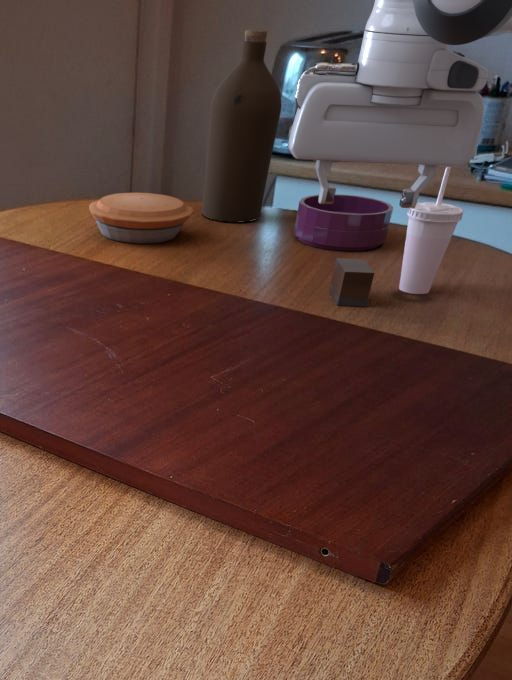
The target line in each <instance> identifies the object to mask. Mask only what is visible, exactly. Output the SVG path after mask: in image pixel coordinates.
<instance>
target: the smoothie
mask: <svg viewBox="0 0 512 680" xmlns="http://www.w3.org/2000/svg"><path fill="white" fill-rule="evenodd" d="M451 170H452V166H445V170H444V173H443V177H442V179H441V180H442V181H441V185H440V188H439V191H438V194H437V199H436V202H433V201H432V202H430V201H424V202H422V201H421V202H417V204H416V206H415V208H408V209H407V212H406V216H408V222H407V228H406V236H405V243H404V250H403V258H402V264H401V271H400V278H399V286H398V289H399V290H400V291H401V292H403V293H407V294H413V295H426V294H429V293H430V291H431V288H432V286H433V283H434V281H435V278H436V276H437V273H438V272H439V269H440V267H441V264H442V261H443V259H444V257H445V254H446V252H447V250H448V247H449V245H450V242H451V240H452V237H453V235H454V233H455V230H456V229H457V225H458V223H459V222H460V221H462V220H463V215H464V209H462V208H461V207H459V206H457V205H454V204H448V203H443V198H444V195H445V190H446V187H447V184H448V180H449V176H450V172H451Z"/></svg>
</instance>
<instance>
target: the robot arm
mask: <svg viewBox="0 0 512 680" xmlns="http://www.w3.org/2000/svg"><path fill="white" fill-rule="evenodd" d="M511 33H512V0H374V4H373V8H372V10H371V13H370V15H369V17H368V19H367V21H366V24H365V28H364V31H363V36H362V41H361V46H360V51H359V55H358V59H357V62H356V63H355V62H341V63H340V62H339V63H329V62H326V61H321V62H316V63H315V65H313V66H310V67H309V68H307V69H306V70H305V71H303V72H302V73H301V75H300V77H299V79H298V83H297V88H296V93H295V103H296V106H297V109H296V113H295V116H294V119H293V122H292V126H291V128H290V129H291V130H290V134H289V138H288V144H287V146H288V147H287V148H288V150H289V152H290V154H291V155H292V157H293V158H295V159H296V160H303V161H307V160H308V161H316V162H315V167H314V168H315V172H316V175H317V178H318V181H319V185H320V189H319V194H318V195H319V199H318V202H319V203H320V204H333V202H334V195H335V194H337V187H336V186H335V185H333V184H330V183H329V181H328V177H327V174H326V172H331V170H332V165H333V162H346V163H370V164H389V165H411V166H418V168H417V169H418V170H417V173H419V174H420V175H419V176H418V178H417V179H416V181H414V183H413V184H412V185H411V186H410V188H402V192H401V198H400V199H399V207H400V208H402V209H409V208H415V206H416V204H417V203H418V200H419V197H420V193H422V192H423V191H424V189H425V188H426V187H427V186H428V185H429V184H430V182H431V181H433V179H434V178H435V176H436V172H437V168H438V167H451V168H452V167H453V168H463V167H465V166H466V165H467V164H468V163H469V162H470V161H471V160H472V159H473V158H474V157H475V154H476V151H477V149H478V144H479V139H480V136H481V132H482V126H483V122H484V115H485V101H484V99H483V96H482V95H481V94H480V93H479V91H481V90H483V89H484V88H485V86H486V84H487V82H488V80H489V79H488V78H489V74H490V73H489V69H488V68H487V67H486V66H484V65H483V64H480V63H478V62H476V61H474V60H472V59H470V58H467V57H466V56H465V54H463V53H462V52H458V51H452V50H450V46H461V45H466V44H471V43H473V42H475V41H479V40H481V39H484V38H488V37H489V38H490V37H496V36H497V37H498V36H500V35H501V36H502V35H505V34H511ZM313 71H314V72H313ZM312 72H313V73H312Z"/></svg>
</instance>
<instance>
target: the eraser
mask: <svg viewBox="0 0 512 680" xmlns="http://www.w3.org/2000/svg"><path fill="white" fill-rule="evenodd" d="M374 277H375V272H374V270H373V268H372V267H371V266H370V264H368V262H367V261H366V259H364V258H347V257H346V258H345V257H344V258H342V257H341V258H340V257H336V258H335V261H334V267H333V271H332V276H331V280H330V284H329V290H328V291H329V293H330V295H331V297H332V298H333V301H334V302H335V304H336V306H337V307H338V306H339V307H357V308H358V307H360V308H366V307H367V305H368V302H369V298H370V294H371V290H372V285H373V281H374Z"/></svg>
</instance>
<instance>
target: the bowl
mask: <svg viewBox="0 0 512 680" xmlns="http://www.w3.org/2000/svg"><path fill="white" fill-rule="evenodd" d="M318 199H319V194H314V195H308V196H305V197H301V198H300V200H299V201H298V202H299V203H298V207H297V212H296V218H295V224H294V229H293V230H294V231H293V234H294V235H295V237H297V239H298V240H299V242H301V243H303V244H305V245H308V246H311V247H315V248H318V249H324V250H331V251H332V250H333V251H340V252H342V251H343V252H358V251H361V252H362V251H368V250H373V249H376V248H378V247H379V246H380V245H382V244H384V243H385V241H386V239H387V236H388V233H389V227H390V223H391V219H392V215H393V211H394V206H393V205H391V203H389V202H386V201H384V200H381V199H377V198H373V197H367V196H361V195H353V194H337V193H335V195H334V202H333V204H320V203H319V202H318Z"/></svg>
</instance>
